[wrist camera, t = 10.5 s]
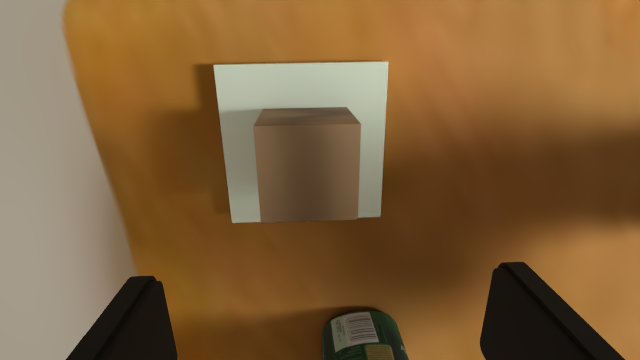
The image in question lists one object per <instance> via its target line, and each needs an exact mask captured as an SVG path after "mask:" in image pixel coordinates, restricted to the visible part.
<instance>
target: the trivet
mask: <svg viewBox="0 0 640 360" xmlns="http://www.w3.org/2000/svg"><path fill="white" fill-rule="evenodd" d="M213 66H214V74H215V83H216V91H217V100H218V108H219V117H220V125H221V134H222V143H223V151H224V160H225V168H226V177H227V185H228V194H229V202H230V211H231V219H232V223H244V222H261V219H260V207H259V194H258V181H257V168H256V155H255V142H254V129H253V126H254V124H255V122H256V120H257V119H258V117H259V115H260V113H261V112H262V110H263V109H274V108H326V107H347V108H348V109H349V110H350V111H351V113H352V114H353V115H354V116H355V117H356V118H357V120H358V121H359V122H360V123H361V141H360V172H359V203H358V218H363V217H381V197H382V178H383V158H384V139H385V119H386V99H387V80H388V62H387V61H355V62H301V63H246V64H216V65H213Z"/></svg>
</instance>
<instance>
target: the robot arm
mask: <svg viewBox="0 0 640 360" xmlns="http://www.w3.org/2000/svg"><path fill="white" fill-rule="evenodd" d="M480 347H481V351H482V353H483V355H484V357H485V359H486V360H625V359H624V358H623V357H622V356H621V355H620V354H619V353H618V352H617V351H616V350H615V349H613V348H612V347H611V346H610V345H609V344H608V343H607V342H606V341H605V340H604V339H603V338H602V337H601V336H600V335H599V334H598V333H597V332H596V331H595V330H594V329H593V328H592V327H591V326H590V325H589V324H588V323H587V322H586V321H585V320H584V319H583V318H581V317H580V316H579V315H578V314H577V313H576V312H575V311H574V310H573V309H572V308H571V307H570V306H569V305H568V304H567V303H566V302H565V301H564V300H563V299H562V298H561V297H560V296H559V295H558V294H557V293H556V292H555V291H554V290H553V289H552V288H550V287H549V286H548V285H547V284H546V283H545V282H544V281H543V280H542V279H541V278H540V277H539V276H538V275H537V274H536V273H535V272H534V271H533V270H532V269H531V268H530V267H529V266H528V265H527V264H525V263H524V262H507V263H501V264H500V265H499V267H498V268H495V269H494V271H493V274H492V280H491V285H490V290H489V296H488V301H487V306H486V311H485V317H484V322H483V327H482V333H481V338H480ZM66 360H177V351H176V346H175V341H174V337H173V332H172V327H171V322H170V317H169V313H168V308H167V303H166V298H165V294H164V289H163V285H162V282H161V281H156V279H155V277H154V276H136V277H130V278H129V279H128V280H127V282H126V283H125V284H124V285H123V287H122V288H121V289H120V290H119V292H118V293H117V294H116V296H115V297H114V298H113V300H112V301H111V302H110V304H109V305H108V306H107V308H106V309H105V310H104V311H103V313H102V314H101V315H100V317H99V318H98V319H97V321H96V322H95V323H94V324H93V326H92V327H91V328H90V330H89V331H88V332H87V333H86V335H85V336H84V337H83V338H82V340H81V341H80V342H79V343H78V345H77V346H76V347H75V349H74V350H73V351H72V352H71V354H70V355H69V356H68V358H67V359H66Z"/></svg>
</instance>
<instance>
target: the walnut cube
mask: <svg viewBox="0 0 640 360" xmlns="http://www.w3.org/2000/svg"><path fill="white" fill-rule="evenodd" d="M253 129H254V142H255V155H256V168H257V181H258V194H259V207H260V219H261V223H279V222H306V221H333V220H358V203H359V172H360V141H361V123H360V122H359V121H358V120H357V118H356V117H355V116H354V115H353V114H352V113H351V111H350V110H349V109H348V108H347V107H326V108H274V109H263V110H262V112H261V113H260V115H259V117H258V119H257V120H256V122H255V124H254V126H253Z"/></svg>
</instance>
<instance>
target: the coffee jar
mask: <svg viewBox="0 0 640 360" xmlns="http://www.w3.org/2000/svg"><path fill="white" fill-rule="evenodd" d="M321 349H322V360H409V359H408V356H407V353H406V350H405V347H404V344H403V341H402V339H401V336H400V333H399V330H398V327H397V325H396V323H395V321H394V320H393V319H392V318H391V317H390V316H389V315H387V314H385V313H383V312H379V311H370V310H360V311H352V312H347V313H345V314H342V315H339V316H337V317H335V318H333V319H332V320H330V321H329V322H328V323H327V324H326V326H325V328H324V330H323V333H322V348H321Z"/></svg>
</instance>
